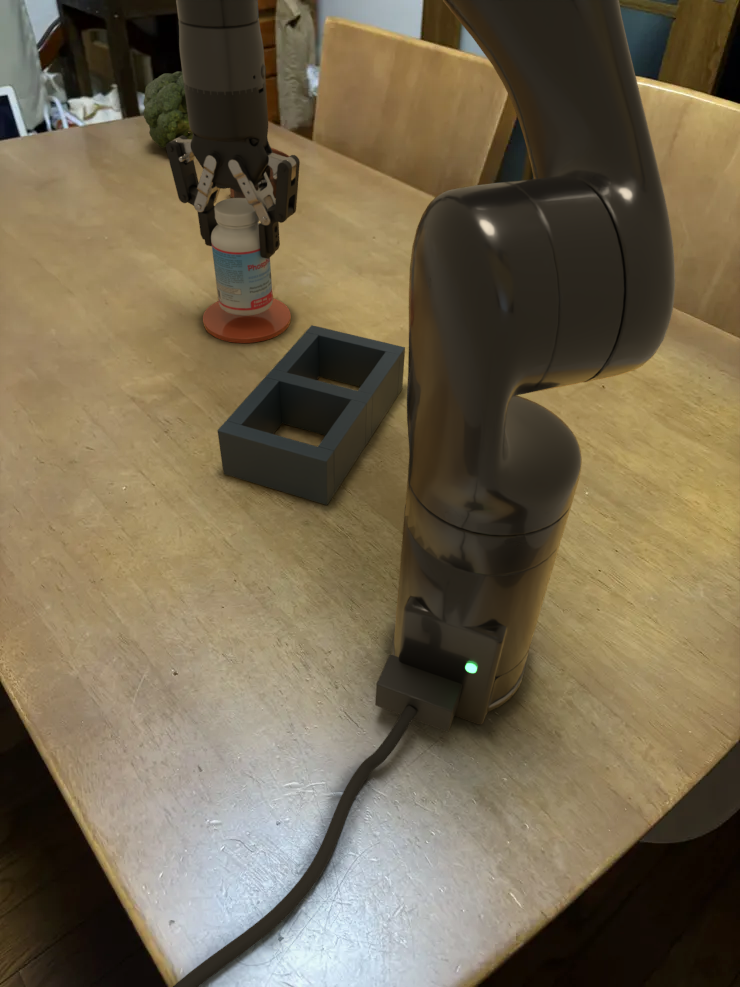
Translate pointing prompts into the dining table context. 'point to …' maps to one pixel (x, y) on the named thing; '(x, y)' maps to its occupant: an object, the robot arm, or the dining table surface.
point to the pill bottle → (240, 259)
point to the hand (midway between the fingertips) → (241, 248)
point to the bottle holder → (313, 413)
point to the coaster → (247, 323)
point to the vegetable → (166, 109)
